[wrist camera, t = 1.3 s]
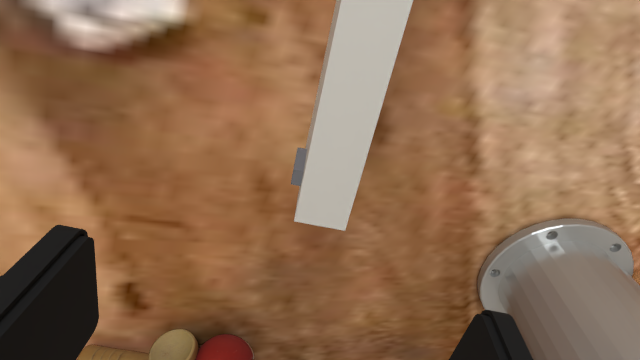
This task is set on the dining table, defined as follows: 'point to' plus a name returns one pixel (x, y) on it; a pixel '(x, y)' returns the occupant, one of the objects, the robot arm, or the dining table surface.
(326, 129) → the door panel
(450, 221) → the dining table surface
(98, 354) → the kendama
